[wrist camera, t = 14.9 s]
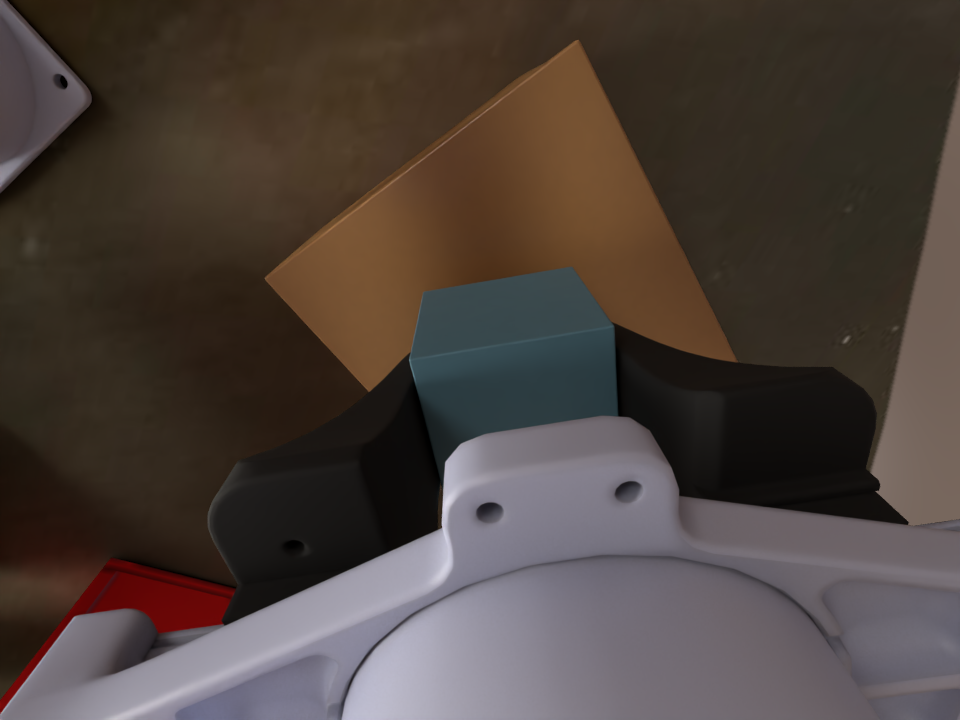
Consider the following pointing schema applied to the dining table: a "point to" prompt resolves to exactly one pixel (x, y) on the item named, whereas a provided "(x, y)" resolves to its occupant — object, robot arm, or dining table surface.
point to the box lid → (505, 228)
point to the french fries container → (142, 604)
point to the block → (511, 357)
